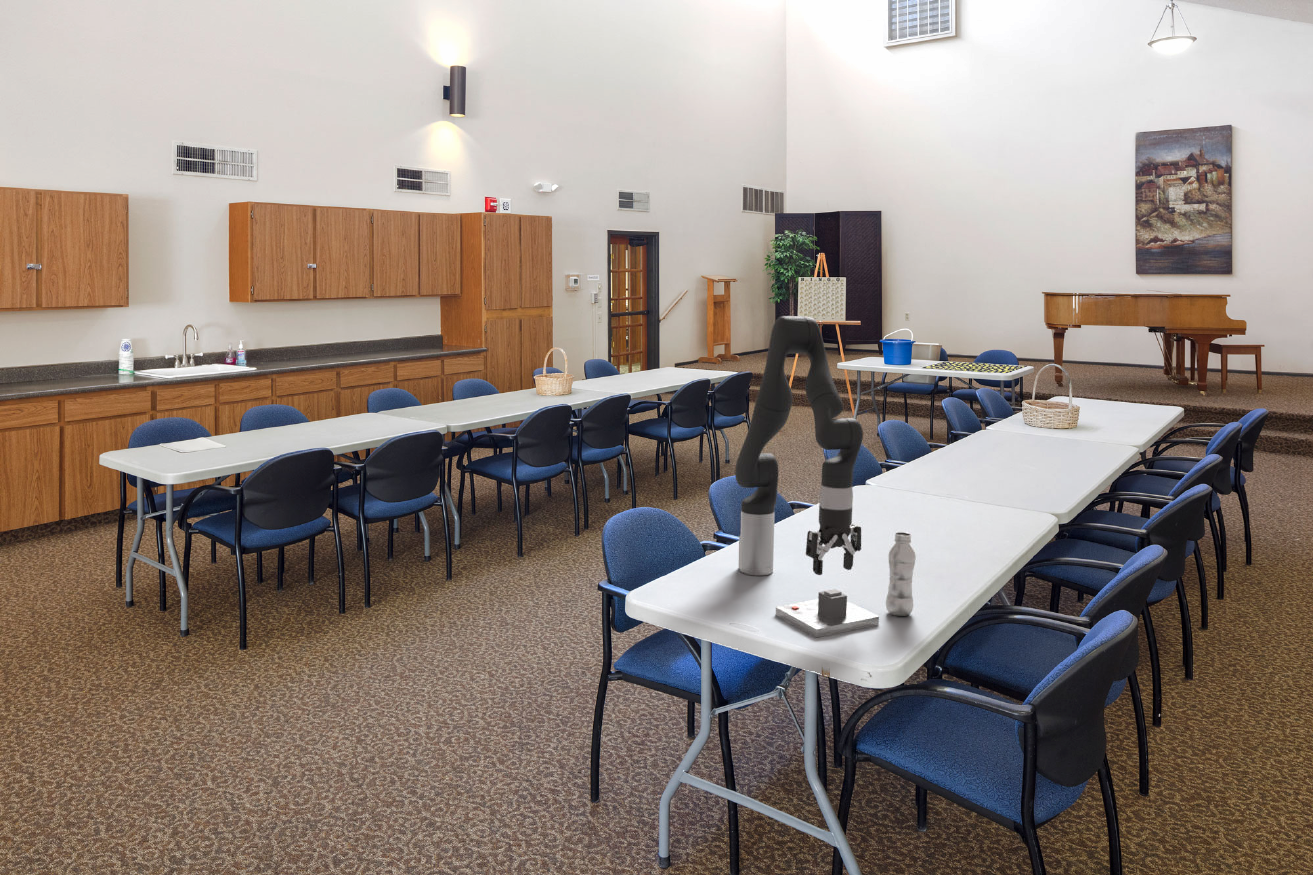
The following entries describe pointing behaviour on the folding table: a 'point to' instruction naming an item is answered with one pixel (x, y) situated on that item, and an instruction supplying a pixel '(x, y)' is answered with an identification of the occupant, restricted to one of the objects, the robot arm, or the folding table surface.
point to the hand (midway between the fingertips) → (832, 571)
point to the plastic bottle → (901, 576)
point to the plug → (832, 604)
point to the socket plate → (825, 618)
